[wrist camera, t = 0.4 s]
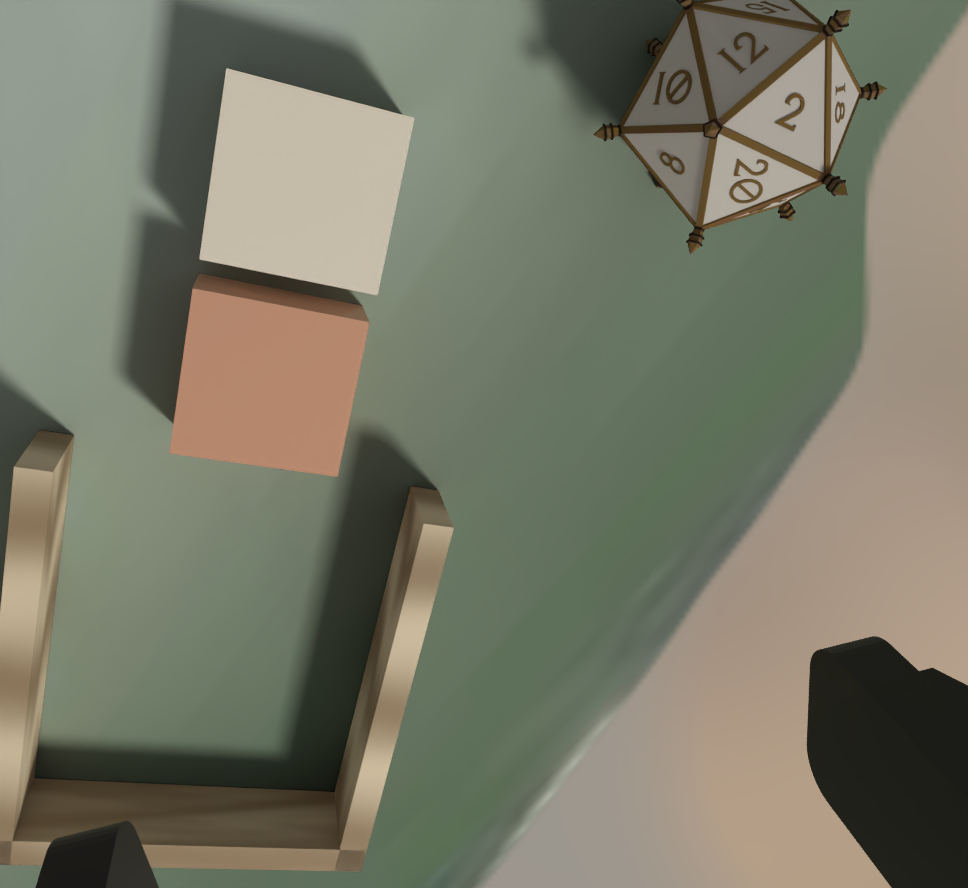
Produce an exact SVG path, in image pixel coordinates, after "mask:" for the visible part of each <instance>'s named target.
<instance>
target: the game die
mask: <svg viewBox="0 0 968 888" xmlns="http://www.w3.org/2000/svg"><path fill="white" fill-rule="evenodd" d="M677 2H678V3H679V4H682V5H683V9H682V11H681V13H680V15H679V17H678V19H677V20H676V22H675V24H674V26H673V28H672V30H671V31H670V33H669V35H668V37H667V39H666V41H665V42H664V44H662V43H661V42H660V41H659V40H658V39H657V38H654V39H652V40H647V45H648V53H652V56H657V57H656V59H655V61H654V62H653V64H652V66H651V68H650V70H649V72H648V73H647V75H646V77H645V79H644V81H643V83H642V84H641V86H640V88H639V90H638V92H637V94H636V95H635V97H634V99H633V101H632V103H631V105H630V106H629V108H628V110H627V112H626V114H625V116H624V117H623V119H622V121H621V123H620V125H617V126H616V125H612V123H610V125H605V124H603V126H602V127H601V128H600V129H599V130H598V131H596V132H595V133H594V134H593V135H595V136H597V137H599V138H601V139H603V140H604V141H606V140H607V139H611V140H613V138H614V137H616V136H621V137H622V139H623V140H624V141H625V142H626V143H627V145H628V146H629V147H630V148H631V150H632V151H633V152H634V153H635V155H636V156H637V157H638V158H639V159H640V161H641V162H642V163H643V164H644V166H645V167H646V168H647V169H648V171H649V172H650V173H651V174H652V175H653V177H654V178H655V179H656V182H657V183H656V187H658V188H663V189H664V190H665V191H666V193H667V194H668V195H669V196H670V198H671V199H672V200H673V201H674V203H675V204H676V205H677V206H678V208H679V209H680V210H681V211H682V212H683V214H684V215H685V216H686V217H687V219H688V220H689V221H690V222H691V224H692V225H693V226H694V230H693V232H692V233H690V234H689V236H690V237H689V239H688V240H687V241H686V242H687V243H688V247H689V251H690V254H691V253H692V252H694V251H695V250H696V249H697V248H699V247H700V246H702V244H701V243H702V240H704V237H703V232H704V230H705V229H708V228H711V227H715V226H718V225H721V224H724V223H728V222H731V221H734V220H737V219H740V218H744V217H747V216H750V215H753V214H757V213H760V212H763V211H766V210H769V209H773V208H776V207H779V210H778V213H780V218H785V219H787V220H789V221H792V218H793V215H794V213H795V210H794V209H793V207H792V205H791V204H790V203H788V202H790V201H792V200H794V199H795V198H797V197H799V196H801V195H803V194H805V193H807V192H809V191H810V190H812V189H814V188H816V187H818V186H820V185H822V184H825V185H826V187H825V188H826V189H827V190H828V191H829V192H830V191H831V193H832V195H833V196H835V195H848V194H847V190H846V186H845V182H846V180H841V179H840V176H837V177H835V176H832V175H831V172H832V170H833V167H834V164H835V162H836V159H837V157H838V154H839V151H840V149H841V146H842V144H843V141H844V138H845V136H846V133H847V130H848V128H849V125H850V123H851V120H852V117H853V115H854V112H855V110H856V107H857V104H858V102H859V99H861V98H866V99H867V100H870V99H871V98H874V99H875V100H877V97H878V96H879V95H880V94H881V93H883V92H884V91H885V90H886V89H887V88H885V87H883V86H881V85H879V84H878V83H877V82H874V83H873V84H870V83H868V84H867V85H865V86H864V87H860V86H859V84H858V82H857V80H856V78H855V76H854V74H853V72H852V70H851V69H850V67H849V65H848V63H847V61H846V59H845V57H844V55H843V53H842V51H841V49H840V47H839V45H838V43H837V41H836V39H835V37H834V35H833V34H834V33H836V32H841V31H842V28H843V27H847V26H849V24H848V20H849V16H850V12H851V10H845V11H838V10H836V11H835V13H834V16H830V18H829V20H828V22H827V25H825V24H824V23H822V22H821V21H820V20H819V19H818V18H816V17H815V16H814V15H813V14H811V13H810V12H809V11H808V10H806V9H805V8H804V7H803V6H801V5H800V4H799V3H798V2H797V1H795V0H704V1H697V2H694V1H693V0H677Z"/></svg>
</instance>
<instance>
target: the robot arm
mask: <svg viewBox="0 0 968 888" xmlns="http://www.w3.org/2000/svg"><path fill="white" fill-rule="evenodd" d="M807 730H808V731H807V752H808V759H809V763H810V767H811V770H812V773H813V776H814V778H815V781H816V783H817V785H818V787H819V789H820V791H821V793H822V794H823V796H824V797H825V799H826V800H827V802H828V803H829V804H830V806H831V807H832V809H833V810H834V811H835V813H836V814H837V815H838V817H839V818H840V819H841V821H842V822H843V823H844V825H845V826H846V827H847V829H848V830H849V831H850V833H851V834H852V835H853V837H854V838H855V839H856V841H857V842H858V843H859V844H860V846H861V847H862V848H863V850H864V851H865V853H866V854H867V855H868V857H869V858H870V859H871V861H872V862H873V863H874V865H875V866H876V867H877V869H878V870H879V871H880V873H881V874H882V875H883V877H884V878H885V879H886V881H887V882H888V883H889V885H890V886H891V887H892V888H968V686H967V685H965V684H964V683H962V682H960V681H958V680H956V679H954V678H952V677H950V676H948V675H946V674H944V673H942V672H940V671H938V670H936V669H934V668H930V669H926V670H922V671H918V670H917V669H916V668H915V667H914V666H913V665H912V664H910V663H909V662H908V661H907V660H906V659H905V658H904V657H903V656H902V655H901V654H900V653H899V652H898V651H897V650H896V649H894V648H893V647H892V646H891V645H890V644H889V643H888V642H887V641H885V640H884V639H882V638H880V637H869V638H864V639H860V640H857V641H852V642H849V643H844V644H840V645H836V646H833V647H828V648H824V649H820V650H817V651H816V652H815V653H814V654H813V656H812V658H811V662H810V679H809V704H808V729H807ZM36 888H159V887H158V884H157V882H156V879H155V877H154V874H153V872H152V869H151V867H150V864H149V862H148V859H147V856H146V854H145V851H144V849H143V846H142V844H141V841H140V839H139V836H138V834H137V832H136V829H135V828H134V826H133V825H132V824H131V822H129V821H123V822H119V823H115V824H111V825H107V826H103V827H99V828H95V829H91V830H87V831H83V832H79V833H75V834H71V835H67V836H63V837H59V838H56V839H54V840H53V841H52V842H51V843H50V845H49V847H48V849H47V852H46V855H45V858H44V861H43V865H42V868H41V872H40V875H39V878H38V882H37V885H36Z"/></svg>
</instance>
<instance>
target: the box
mask: <svg viewBox="0 0 968 888" xmlns="http://www.w3.org/2000/svg"><path fill="white" fill-rule="evenodd" d="M73 441H74V435H68V434H62V433H55V432H48V431H42V430H39V431H38V433H37V434H36V435H35V437H34V438H33V440H32V441H31V443H30V444H29V446H28V447H27V449H26V450H25V451H24V453H23V454H22V456H21V457H20V459H19V460H18V462H17V463H16V464H15V466H14V471H13V482H12V493H11V503H10V514H9V524H8V535H7V545H6V556H5V566H4V577H3V587H2V598H1V608H0V864H1V865H43V861H44V858H45V855H46V852H47V849H48V847H49V845H50V843H51V842H52V841H53V840H54V839H56V838H59V837H63V836H67V835H71V834H75V833H79V832H83V831H87V830H91V829H95V828H99V827H103V826H107V825H111V824H115V823H119V822H123V821H129V822H131V824H132V825H133V826H134V828H135V829H136V832H137V834H138V836H139V839H140V841H141V844H142V846H143V849H144V851H145V854H146V856H147V859H148V862H149V864H150V867H156V868H208V869H260V870H312V871H361V869H362V866H363V862H364V858H365V855H366V851H367V847H368V844H369V840H370V836H371V832H372V829H373V825H374V821H375V818H376V814H377V810H378V807H379V803H380V799H381V795H382V792H383V788H384V784H385V781H386V777H387V773H388V770H389V766H390V762H391V758H392V755H393V751H394V747H395V744H396V740H397V736H398V733H399V729H400V725H401V722H402V718H403V714H404V710H405V707H406V703H407V699H408V696H409V692H410V688H411V685H412V681H413V677H414V673H415V670H416V666H417V662H418V659H419V655H420V651H421V648H422V644H423V640H424V636H425V633H426V629H427V625H428V622H429V618H430V614H431V611H432V607H433V603H434V599H435V596H436V592H437V588H438V585H439V581H440V577H441V574H442V570H443V566H444V562H445V559H446V555H447V551H448V548H449V544H450V540H451V537H452V533H453V529H454V527H453V525H452V522H451V520H450V517H449V515H448V513H447V510H446V508H445V505H444V503H443V500H442V498H441V496H440V493H439V491H438V490H432V489H425V488H419V487H412V486H411V487H410V491H409V495H408V499H407V503H406V507H405V511H404V515H403V519H402V523H401V527H400V531H399V535H398V539H397V543H396V547H395V551H394V555H393V559H392V563H391V567H390V571H389V575H388V580H387V584H386V588H385V592H384V596H383V600H382V604H381V608H380V612H379V616H378V620H377V624H376V628H375V632H374V636H373V640H372V644H371V648H370V652H369V656H368V660H367V664H366V668H365V672H364V676H363V680H362V684H361V688H360V692H359V696H358V700H357V704H356V708H355V712H354V716H353V720H352V724H351V728H350V732H349V736H348V740H347V744H346V748H345V752H344V756H343V760H342V764H341V768H340V772H339V776H338V780H337V784H336V788H335V792H324V791H302V790H281V789H259V788H237V787H215V786H193V785H171V784H149V783H127V782H105V781H83V780H61V779H39V778H34V776H35V767H36V759H37V750H38V742H39V733H40V724H41V716H42V707H43V699H44V690H45V682H46V673H47V664H48V656H49V647H50V639H51V630H52V621H53V613H54V604H55V596H56V587H57V579H58V570H59V561H60V553H61V544H62V536H63V527H64V519H65V510H66V501H67V493H68V484H69V476H70V467H71V459H72V450H73Z"/></svg>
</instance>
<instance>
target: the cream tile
mask: <svg viewBox="0 0 968 888" xmlns="http://www.w3.org/2000/svg"><path fill="white" fill-rule="evenodd" d="M413 123H414V118H413V117H409V116H405V115H401V114H398V113H394V112H390V111H386V110H382V109H379V108H375V107H371V106H367V105H364V104H360V103H356V102H352V101H349V100H345V99H341V98H337V97H333V96H330V95H326V94H322V93H318V92H315V91H311V90H307V89H303V88H299V87H296V86H292V85H288V84H284V83H281V82H277V81H273V80H269V79H266V78H262V77H258V76H254V75H250V74H247V73H243V72H239V71H235V70H232V69H228V68H226V74H225V81H224V88H223V95H222V102H221V109H220V117H219V124H218V131H217V138H216V145H215V152H214V159H213V166H212V173H211V180H210V187H209V194H208V201H207V208H206V215H205V222H204V229H203V236H202V243H201V250H200V257H199V259H200V260H205V261H210V262H215V263H220V264H225V265H230V266H234V267H239V268H244V269H249V270H254V271H259V272H264V273H269V274H274V275H279V276H284V277H289V278H294V279H299V280H304V281H309V282H314V283H319V284H323V285H328V286H333V287H338V288H343V289H348V290H353V291H358V292H363V293H368V294H373V295H378V290H379V285H380V281H381V276H382V271H383V266H384V262H385V257H386V252H387V247H388V242H389V238H390V233H391V228H392V223H393V219H394V214H395V209H396V204H397V199H398V195H399V190H400V185H401V180H402V176H403V171H404V166H405V161H406V156H407V152H408V147H409V142H410V137H411V132H412V128H413Z"/></svg>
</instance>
